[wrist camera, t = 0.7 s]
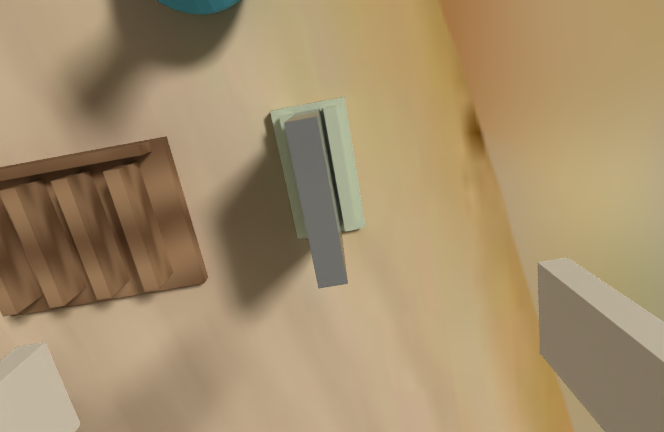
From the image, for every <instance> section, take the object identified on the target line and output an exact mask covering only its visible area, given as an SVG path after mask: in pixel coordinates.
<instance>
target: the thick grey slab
mask: <svg viewBox="0 0 664 432" xmlns="http://www.w3.org/2000/svg"><path fill="white" fill-rule="evenodd" d="M284 125H285V130H286V135H287V139H288V144H289V149H290V154H291V158H292V163H293V168H294V173H295V178H296V182H297V187H298V192H299V197H300V202H301V206H302V211H303V216H304V221H305V225H306V230H307V235H308V240H309V245H310V249H311V254H312V259H313V264H314V269H315V273H316V278H317V283H318V288H324V287H330V286H336V285H342V284H348V280H347V272H346V264H345V256H344V248H343V239H342V231H341V224H340V219H339V213H338V208H337V202H336V197H335V191H334V186H333V180H332V175H331V169H330V164H329V158H328V153H327V147H326V142H325V136H324V131H323V125H322V120H321V114H320V109H314V110H309V111H303V112H298V113H296V114H295V115H293V116H292V117H291V118H289V119H288V120H287V121H285V122H284Z"/></svg>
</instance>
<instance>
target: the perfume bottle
mask: <svg viewBox="0 0 664 432" xmlns="http://www.w3.org/2000/svg"><path fill="white" fill-rule="evenodd" d="M157 1H159V2H160V3H162V4H164V5H166V6H168V7H170V8H172V9H174V10H178V11H182V12H185V13H189V14H199V15H206V14H213V13H218V12H221V11H223V10H226V9H228V8H230V7H232V6H233V5H235V4H236V3H238V2H239V1H240V0H157Z"/></svg>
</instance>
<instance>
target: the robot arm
mask: <svg viewBox="0 0 664 432" xmlns="http://www.w3.org/2000/svg"><path fill="white" fill-rule="evenodd" d="M538 294H539V334H540V354H541V355H542V356H543V358H544V359H545V360H546V361H547V362H548V364H549V365H550V366H551V367H552V368H553V370H554V371H555V372H556V373H557V374H558V376H559V377H560V378H561V379H562V380H563V382H564V383H565V384H566V385H567V387H568V388H570V390H571V391H572V392H573V394H574V395H575V396H576V397H577V399H578V400H579V401H580V402H581V403H582V404H583V406H584V407H585V408H586V409H587V411H588V412H589V413H590V414H591V415H592V417H593V418H594V419H595V420H596V421H597V423H598V424H599V425H600V426H601V428H602V429H603V430H604V431H605V432H664V322H663V321H661V320H660V319H658V318H657V317H655V316H654V315H652V314H651V313H649V312H648V311H646V310H645V309H644V308H642V307H640V306H639V305H638V304H636V303H635V302H633V301H632V300H630V299H629V298H627V297H625V296H624V295H623V294H621V293H620V292H618V291H617V290H615V289H614V288H612V287H611V286H609V285H608V284H606V283H605V282H603V281H602V280H600V279H599V278H598V277H596V276H594V275H593V274H591V273H590V272H589V271H587V270H586V269H584V268H583V267H581V266H580V265H578V264H577V263H575V262H574V261H572V260H571V259H569V258H561V259H555V260H549V261H542V262H538ZM80 425H81V424H80V421H79V419H78V417H77V414H76V412H75V410H74V407H73V405H72V403H71V400H70V398H69V396H68V394H67V391H66V389H65V387H64V384H63V382H62V380H61V377H60V375H59V373H58V370H57V368H56V366H55V364H54V361H53V359H52V357H51V354H50V352H49V350H48V347H47V345H46V343H45V342H42V343H36V344H30V345H23V346H18V347H16V348H15V349H14V350H13V351H11V352H10V353H9V354H8V355H7V356H5V357H4V358H3V359H2V360H0V432H75V431H76V430H77V429H78V427H79V426H80Z"/></svg>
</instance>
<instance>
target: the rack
mask: <svg viewBox="0 0 664 432" xmlns="http://www.w3.org/2000/svg"><path fill="white" fill-rule="evenodd" d="M207 278H208V276H207V272H206V269H205V265H204V262H203V259H202V255H201V252H200V248H199V245H198V242H197V238H196V235H195V232H194V228H193V225H192V221H191V218H190V215H189V211H188V208H187V204H186V201H185V198H184V194H183V191H182V188H181V184H180V181H179V177H178V174H177V171H176V167H175V164H174V160H173V157H172V154H171V150H170V147H169V144H168V140H167V137H161V138H156V139H150V140H145V141H139V142H134V143H129V144H123V145H118V146H113V147H107V148H102V149H96V150H91V151H86V152H80V153H75V154H69V155H64V156H59V157H53V158H48V159H43V160H37V161H32V162H26V163H21V164H16V165H10V166H5V167H0V311H1V313H2V315H3V316H8V315H11V316H17V315H22V314H28V313H34V312H40V311H46V310H51V309H57V308H63V307H69V306H75V305H80V304H86V303H92V302H98V301H104V300H109V299H115V298H121V297H127V296H133V295H138V294H144V293H150V292H156V291H162V290H167V289H173V288H179V287H185V286H191V285H196V284H202V283H205V281H206V280H207Z"/></svg>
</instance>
